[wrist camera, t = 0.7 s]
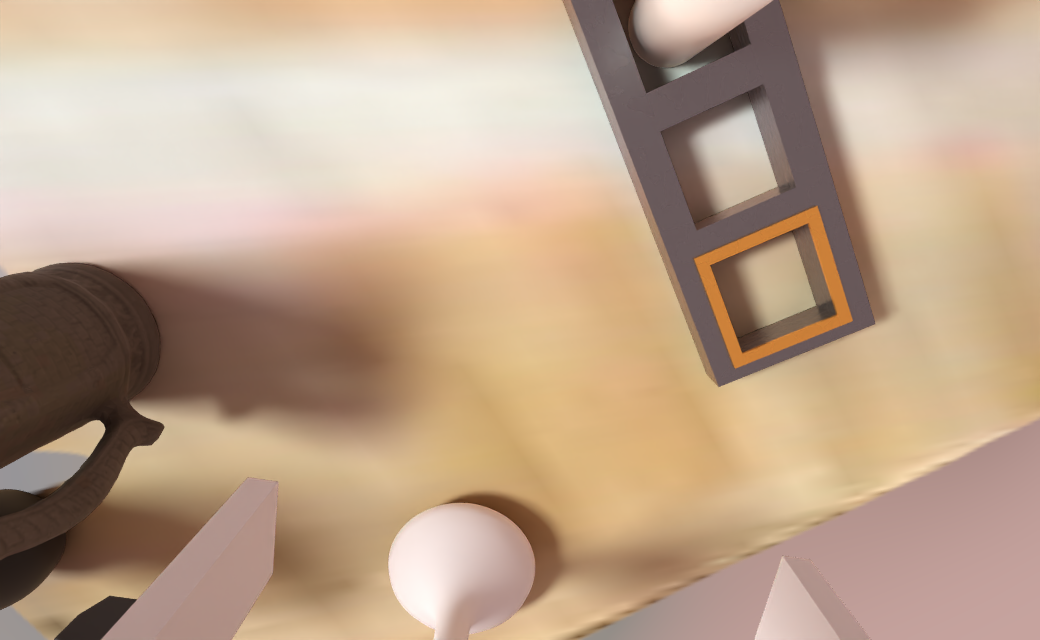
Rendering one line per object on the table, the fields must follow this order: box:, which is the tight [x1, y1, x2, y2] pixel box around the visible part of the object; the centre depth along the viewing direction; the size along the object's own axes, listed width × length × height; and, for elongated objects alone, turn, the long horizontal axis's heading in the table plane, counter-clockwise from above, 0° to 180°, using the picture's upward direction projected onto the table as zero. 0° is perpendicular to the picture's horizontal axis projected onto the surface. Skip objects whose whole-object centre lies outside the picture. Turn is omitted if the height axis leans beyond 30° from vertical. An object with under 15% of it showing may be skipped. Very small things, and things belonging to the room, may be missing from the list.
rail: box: [563, 0, 875, 387], centre depth 35 cm, size 28×11×3 cm, turn 24°
